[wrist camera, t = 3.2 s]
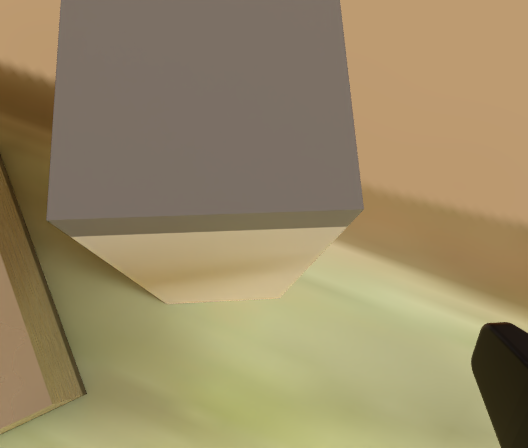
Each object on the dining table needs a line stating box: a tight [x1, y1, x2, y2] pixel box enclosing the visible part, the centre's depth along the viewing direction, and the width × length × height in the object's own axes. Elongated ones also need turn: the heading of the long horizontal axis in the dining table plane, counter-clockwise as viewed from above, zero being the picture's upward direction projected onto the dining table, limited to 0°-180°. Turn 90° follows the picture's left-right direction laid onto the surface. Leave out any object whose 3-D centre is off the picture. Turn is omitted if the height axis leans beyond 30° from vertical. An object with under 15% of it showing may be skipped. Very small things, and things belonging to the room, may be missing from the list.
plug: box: [46, 0, 364, 304], centre depth 13 cm, size 4×4×12 cm
